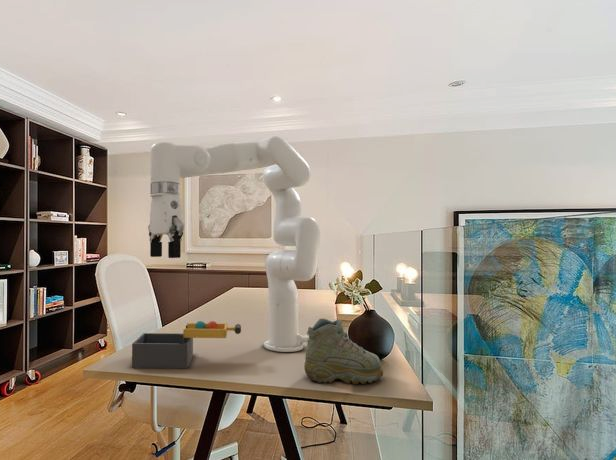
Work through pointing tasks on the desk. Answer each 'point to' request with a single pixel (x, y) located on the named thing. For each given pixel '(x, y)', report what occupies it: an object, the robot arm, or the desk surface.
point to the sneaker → (338, 356)
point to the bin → (162, 351)
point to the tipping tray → (209, 331)
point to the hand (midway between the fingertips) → (164, 257)
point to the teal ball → (200, 325)
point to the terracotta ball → (212, 325)
